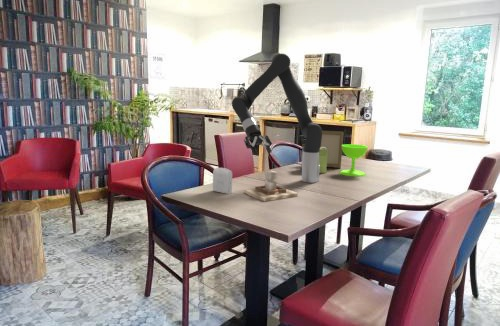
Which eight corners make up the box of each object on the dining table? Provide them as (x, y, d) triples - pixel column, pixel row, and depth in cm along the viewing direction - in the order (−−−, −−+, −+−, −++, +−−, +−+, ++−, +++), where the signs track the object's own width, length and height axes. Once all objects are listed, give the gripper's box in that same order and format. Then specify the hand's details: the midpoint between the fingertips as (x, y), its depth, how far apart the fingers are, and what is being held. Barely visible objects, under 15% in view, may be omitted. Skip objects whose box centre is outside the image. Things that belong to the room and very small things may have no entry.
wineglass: (362, 171, 244) (364, 144, 241) (367, 177, 228) (370, 148, 225) (338, 170, 245) (339, 143, 242) (341, 175, 230) (343, 147, 226)
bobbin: (271, 189, 187) (272, 169, 185) (278, 192, 182) (279, 172, 180) (262, 190, 184) (262, 171, 182) (268, 193, 179) (269, 173, 177)
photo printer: (233, 192, 185) (233, 168, 183) (228, 194, 181) (229, 169, 179) (216, 189, 190) (216, 166, 188) (211, 191, 186) (211, 167, 184)
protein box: (326, 173, 237) (328, 149, 235) (302, 172, 238) (303, 148, 235) (323, 169, 248) (325, 146, 245) (300, 169, 248) (302, 146, 245)
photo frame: (340, 168, 251) (342, 132, 247) (308, 166, 258) (310, 130, 253) (341, 165, 265) (343, 130, 261) (311, 163, 272) (313, 129, 267)
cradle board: (275, 187, 196) (276, 181, 195) (297, 196, 181) (298, 189, 181) (243, 192, 185) (244, 186, 185) (264, 201, 171) (264, 194, 170)
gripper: (242, 124, 187) (254, 149, 179) (265, 123, 194) (277, 148, 187) (237, 133, 192) (248, 158, 185) (259, 132, 200) (271, 156, 192)
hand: (263, 153), depth 186 cm, fingers open, 8 cm apart
